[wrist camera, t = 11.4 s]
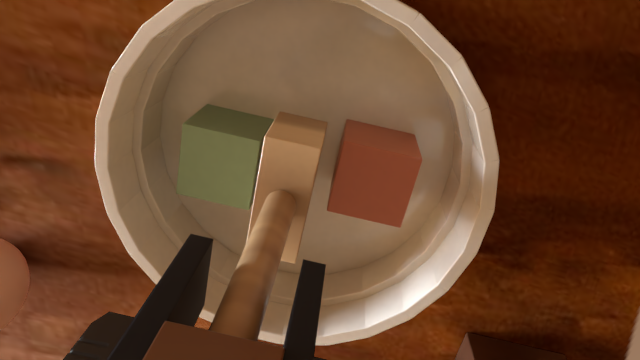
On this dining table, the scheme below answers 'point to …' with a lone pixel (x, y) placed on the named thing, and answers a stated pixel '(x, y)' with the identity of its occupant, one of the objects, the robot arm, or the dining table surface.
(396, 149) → the terracotta block
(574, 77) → the dining table surface
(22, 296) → the egg
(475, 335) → the stand
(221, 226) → the bowl
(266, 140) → the wooden mallet
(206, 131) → the sage block
